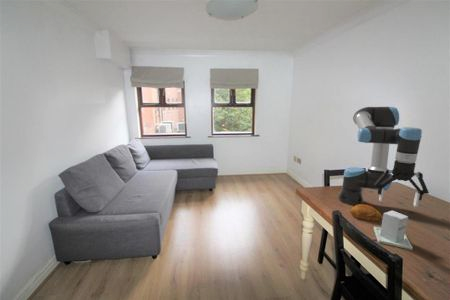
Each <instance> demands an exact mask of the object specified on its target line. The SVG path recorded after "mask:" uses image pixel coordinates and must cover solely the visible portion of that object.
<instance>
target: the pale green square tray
mask: <svg viewBox="0 0 450 300" xmlns="http://www.w3.org/2000/svg"><path fill="white" fill-rule="evenodd" d="M373 231H374V234H375V237H376V240H377V242H378V243H379V244H384V245H387V246H392V247H396V248H400V249H401V248H402V249H406V250H410V251H413V245H412V244H411V242H410V240H409V239H408V236H407V234H405V236H404V240H401V241H398V242H396V243H394V242H392V241H390V240H388V239H386V238H384V237H382V236H380V231H381V227H379V226H373Z"/></svg>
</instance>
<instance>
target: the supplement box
mask: <svg viewBox="0 0 450 300" xmlns="http://www.w3.org/2000/svg"><path fill="white" fill-rule="evenodd" d="M408 220H409V216H408V215H405V214H403V213H401V212H397V211H395V210H389V211H386V212H383V215H382V221H381V227H380V228H381V231H380V236H382V237H384V238H386V239H388V240H390V241H392V242H394V243H396V242H398V241H401V240H404V236H405V235H406V230H407V225H408Z"/></svg>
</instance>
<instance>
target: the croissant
mask: <svg viewBox="0 0 450 300" xmlns="http://www.w3.org/2000/svg"><path fill="white" fill-rule="evenodd" d="M349 212H350V214H351V216H352V217H354V218H356V219H361V220H366V221H370V222H371V221H372V222H377V221H380V220H381V219H382V218H383V215H382V214H381V212H379V210H377V209H376V208H374V206H372V205H370V204H364V203H363V204H358V205H353V207H352V208H351V209H350V211H349Z"/></svg>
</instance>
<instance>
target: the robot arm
mask: <svg viewBox="0 0 450 300" xmlns="http://www.w3.org/2000/svg"><path fill="white" fill-rule="evenodd" d="M352 120H353V122H354V124H355V125H356V126H357V128H358V130H357V131H358V132H357V141H358V142H359V143H365V144H372V152H371V153H372V154H371V162H370V166H368V167H367V170H366V169H364V168H362V167H358V166H356V167H355V166H353V167H347V168H346V169H344V171H343V179H342V188H341V190H340V192H339V194H338V198H339V199H340V200H341V201H340V200H339V199H338V200H339V201H340V202H341V203H344V204H346V203H347V205H350V204H351V206H355V205H358V204H364V196H363V192H362V191H363V189H368V190H376V191H377V194H378V195H379V197H378V198H379V199H378V201H379V202H381V203H382V202H383V198H384V197H383V196H384V191H388V190H389V189H390V188H391V187H392V183H393V182H395V181H396V180H397V181H404V182H407V181H409V183H410V184H411V185H412V186H413V187H414V188H415V190H416V191H415V194H414V199H413V206H414V208H418V206H419V201H422V198H423V195H425V194H427V195H428V194H429V192H430V191H429V189H428V188H427V185H426V183H425V181H424V178H423V177H424V176H423V175H424V174H423V173H422V172H421V171H417V172H415V170H416V169H415V168H416V162H417V160H418V159H417V157H418V153H419V148H420V143H421V139H422V137H423V136H422V133H423V131H422V129H421V128H419V127H410V126H409V127H407V126H406V127H401V128H399V127H398V128H395V126H398V125H399V121H400V111H399V110H398V108H397V107H394V106H366V107H362V108H359V109H358V110H357V111H355V113H354V115H353V116H352ZM390 145H397V146H396V152H395V160H394V163H393V167H392V170H391V169H388V161H389V152H390ZM414 176H415V177H417V178H416V179H418V182H419V185H420V187H419V186H418V184H417V183H416V182H415V181H414V180H413V177H414Z"/></svg>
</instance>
